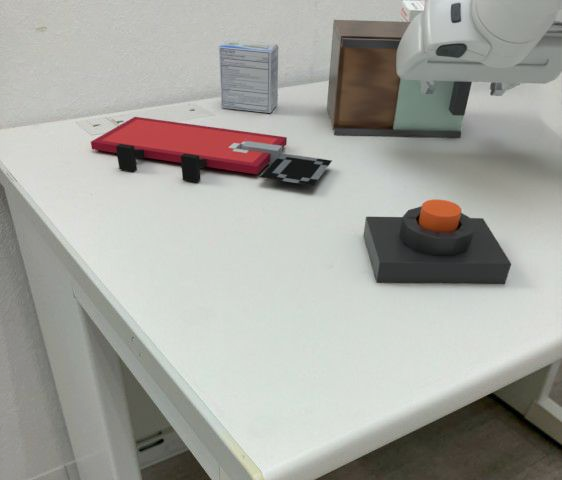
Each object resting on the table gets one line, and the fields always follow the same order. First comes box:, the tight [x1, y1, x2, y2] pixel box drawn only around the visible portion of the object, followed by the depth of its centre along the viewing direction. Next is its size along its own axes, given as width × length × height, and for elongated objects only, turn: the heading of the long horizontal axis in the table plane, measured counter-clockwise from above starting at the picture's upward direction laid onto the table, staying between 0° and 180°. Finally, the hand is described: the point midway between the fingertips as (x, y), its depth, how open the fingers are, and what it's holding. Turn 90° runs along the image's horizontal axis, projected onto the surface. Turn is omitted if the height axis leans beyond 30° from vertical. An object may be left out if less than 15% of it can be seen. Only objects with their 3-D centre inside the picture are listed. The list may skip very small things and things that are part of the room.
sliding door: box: [393, 78, 473, 131], centre depth 80 cm, size 10×3×11 cm, turn 92°
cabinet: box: [326, 19, 462, 138], centre depth 84 cm, size 18×12×12 cm, turn 92°
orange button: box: [419, 198, 462, 232], centre depth 55 cm, size 4×4×2 cm
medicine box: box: [218, 39, 279, 114], centre depth 88 cm, size 8×4×9 cm, turn 76°
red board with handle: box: [90, 116, 333, 186], centre depth 74 cm, size 30×3×15 cm
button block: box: [363, 205, 512, 285], centre depth 56 cm, size 12×9×4 cm
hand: (460, 89), depth 79 cm, fingers open, 8 cm apart
